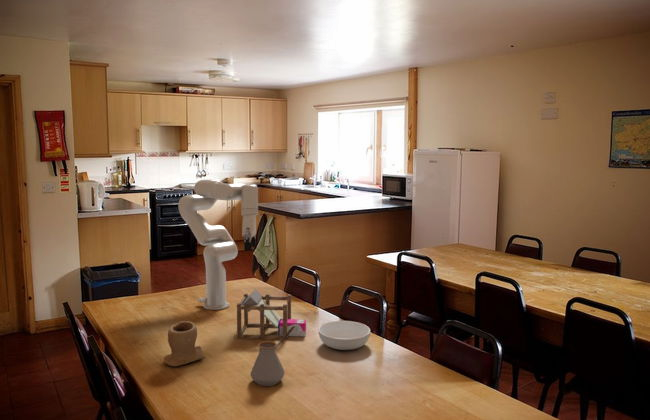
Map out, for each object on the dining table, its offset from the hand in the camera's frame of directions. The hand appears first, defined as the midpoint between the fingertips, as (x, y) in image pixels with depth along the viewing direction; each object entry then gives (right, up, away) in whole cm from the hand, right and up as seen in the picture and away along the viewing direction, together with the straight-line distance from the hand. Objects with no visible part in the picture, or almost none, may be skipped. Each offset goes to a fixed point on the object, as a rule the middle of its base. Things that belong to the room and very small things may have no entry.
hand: (250, 248), depth 244 cm
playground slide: (+6, -27, -17) cm, 33 cm away
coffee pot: (+18, -40, -60) cm, 74 cm away
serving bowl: (+42, -37, -31) cm, 64 cm away
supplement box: (+15, -32, -19) cm, 40 cm away
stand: (+9, -35, -16) cm, 39 cm away
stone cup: (-17, -38, -48) cm, 64 cm away
